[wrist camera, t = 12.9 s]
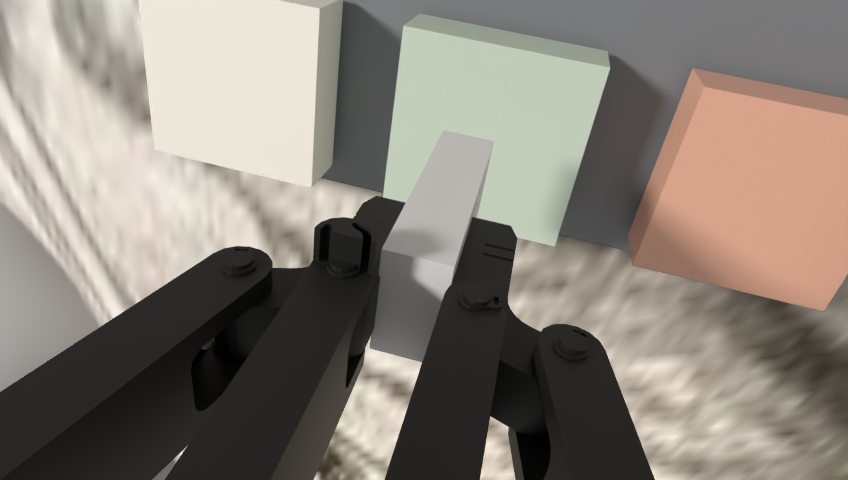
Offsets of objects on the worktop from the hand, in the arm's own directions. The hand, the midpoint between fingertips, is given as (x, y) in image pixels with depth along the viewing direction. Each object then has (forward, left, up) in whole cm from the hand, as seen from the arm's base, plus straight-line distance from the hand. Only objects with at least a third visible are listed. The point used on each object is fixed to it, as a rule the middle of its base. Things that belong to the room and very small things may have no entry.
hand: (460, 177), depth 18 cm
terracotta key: (+10, -1, -7) cm, 12 cm away
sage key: (0, -1, -7) cm, 7 cm away
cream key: (-10, -1, -7) cm, 12 cm away
